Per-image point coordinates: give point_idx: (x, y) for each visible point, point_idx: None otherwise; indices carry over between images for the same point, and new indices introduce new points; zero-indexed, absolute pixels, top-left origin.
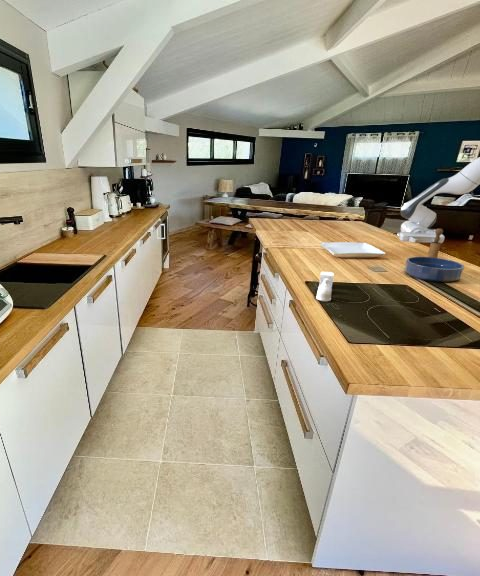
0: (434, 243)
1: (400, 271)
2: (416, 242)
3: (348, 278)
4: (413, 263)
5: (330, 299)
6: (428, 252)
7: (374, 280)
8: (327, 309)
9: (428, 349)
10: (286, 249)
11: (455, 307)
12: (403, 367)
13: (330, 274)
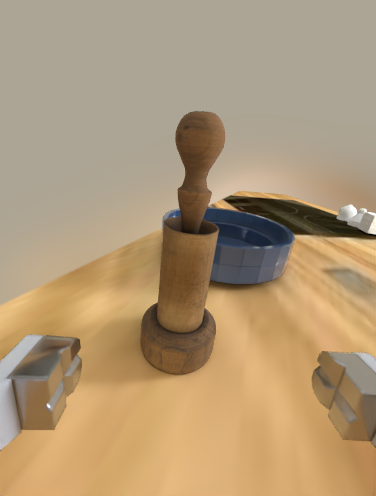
0: (205, 221)
1: (292, 272)
2: (319, 376)
3: (366, 247)
4: (274, 222)
5: (336, 217)
6: (206, 293)
7: (323, 242)
8: (327, 212)
9: (254, 196)
10: None
11: (223, 208)
12: (265, 194)
13: (372, 213)
